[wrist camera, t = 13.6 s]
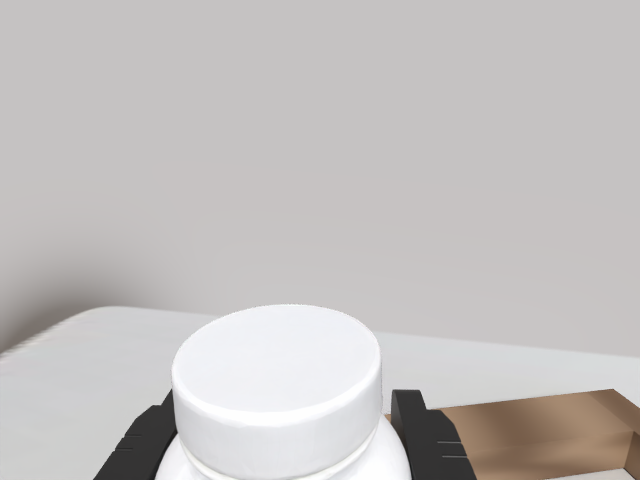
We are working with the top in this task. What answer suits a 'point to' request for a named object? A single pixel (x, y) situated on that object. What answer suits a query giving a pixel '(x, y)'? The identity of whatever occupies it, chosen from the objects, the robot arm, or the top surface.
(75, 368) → the top surface
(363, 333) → the supplement bottle
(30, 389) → the top surface
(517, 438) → the keyhole board
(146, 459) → the robot arm
